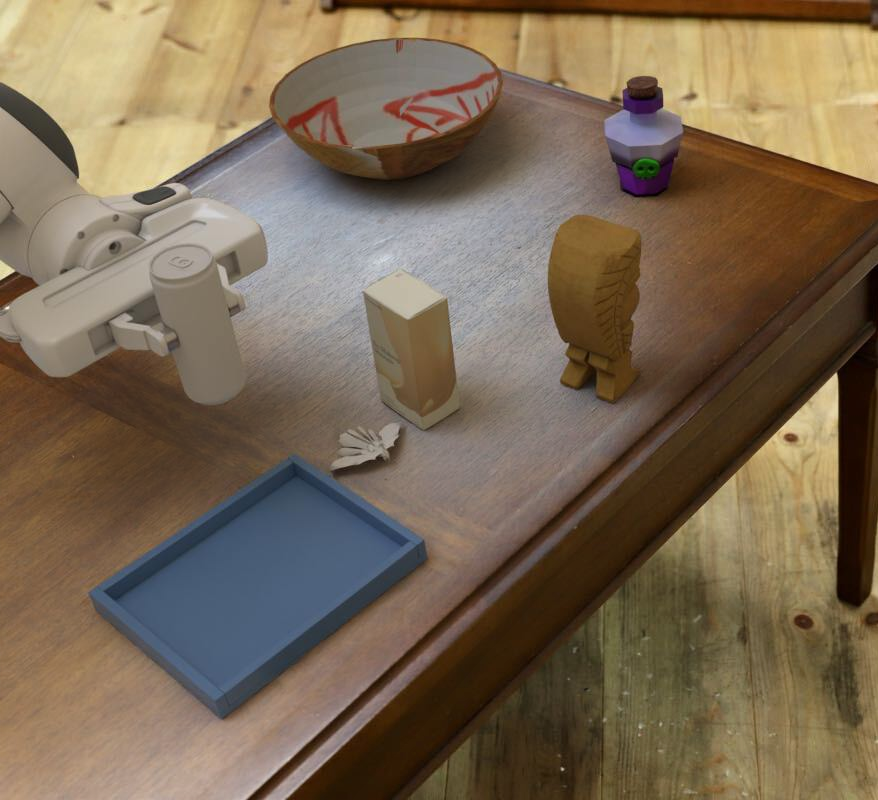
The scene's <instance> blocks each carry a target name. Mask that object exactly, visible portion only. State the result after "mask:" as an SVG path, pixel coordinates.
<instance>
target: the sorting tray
mask: <svg viewBox="0 0 878 800" xmlns="http://www.w3.org/2000/svg"><path fill="white" fill-rule="evenodd" d="M426 560H428V552H427V546H426V542H425V539H424V538H423V537H421V536H420V535H418V534H417V533H415V532H414V531H412V530H411V529H409V528H408V527H406V526H404V525H403V524H402V523H400V522H399V521H398V520H396V519H394V518H393V517H392V516H390V515H388V514H387V513H385V512H383V510H380V508H378V507H376V506H375V505H373V504H372V503H370V502H368V501H367V500H366V499H364V498H363V497H361V496H360V495H359V494H357V493H355V492H353V490H351V489H349V488H348V487H346V486H345V485H344V484H342V483H340V482H339V481H337V480H336V479H334V478H333V477H332V476H330V475H328V474H327V473H325V472H324V471H322V470H321V469H320V468H318V467H316V466H315V465H313V464H312V463H310V461H309V462H308V461H307V460H306V459H304V458H303V457H301V456H300V455H298V454H297V453H292V454H291V455H289V456H288V457H286V458H285V459H283V460H282V461H280V462H279V463H278V464H276V465H274V466H273V467H271V468H270V469H269V470H267V471H266V472H264V473H263V474H261V475H259V476H258V477H256V478H255V479H254V480H252V481H251V482H249V483H248V484H246V485H245V486H243V487H242V488H240V489H239V490H237V491H236V492H235V493H233V494H231V495H230V496H228V497H227V498H226V499H224V500H222V501H221V502H220V503H218V504H217V505H215V506H214V507H212V508H211V509H209V510H208V511H206V512H204V513H203V514H202V515H200V516H199V517H197V518H196V519H194V520H193V521H191V522H190V523H189V524H187V525H185V526H184V527H183V528H181V529H180V530H178V531H177V532H176V533H175V532H174V534H172V535H171V536H169V537H168V538H166V539H165V540H163V541H162V542H160V543H159V544H158V545H156V546H154V547H153V548H152V549H150V550H148V551H147V552H146V553H144V554H143V555H141V556H140V557H138V558H136V559H135V560H134V561H132V562H131V563H130V564H128V565H126V566H124V567H123V568H122V569H120V570H119V571H118V572H116V573H114V574H113V575H112V576H109V578H107V579H106V580H103V582H101V583H99V584H98V585H97V586H95V587H93V588H92V589H90V590H89V591H88V592H87V593H88V596H89V598H90V600H91V603H92V605H93V608H94V610H95V612H96V613H98V614H99V615H100V616H101V617H102V618H103V619H104V620H105V621H107V622H108V623H109V624H110V625H112V626H113V627H114V628H115V629H116V630H117V631H119V633H121V634H122V635H123V636H124V637H125V638H127V639H128V640H129V641H130V642H131V643H132V644H133V645H135V646H136V647H137V648H138V649H139V650H140V651H141V652H143V653H144V654H145V655H146V656H148V657H149V658H150V659H151V660H152V661H153V662H154V663H156V664H157V665H158V666H159V667H160V668H161V669H163V670H164V672H166V673H167V674H168V675H170V676H171V677H172V678H173V679H174V680H175V681H177V682H178V683H179V684H180V685H181V687H183V688H185V689H186V690H187V691H188V692H189V693H190V694H191V695H193V696H194V697H195V698H196V699H197V700H199V702H200V703H202V704H203V705H204V706H205V707H206V708H208V709H209V710H210V711H211V712H213V713H214V714H215V715H216V716H217V717H218V718H219V719H220V720H223V719H224V718H225V717H227V716H229V714H231V713H232V712H233V711H234V710H236V709H237V708H239V706H241V705H242V704H243V703H245V702H246V701H247V700H249V699H250V698H251V697H252V696H254V695H255V694H256V693H258V692H259V691H260V690H261V689H263V688H264V687H265V686H266V685H268V684H269V683H270V682H272V681H273V680H274V679H275V678H277V677H278V676H280V674H282V673H283V672H285V670H287V669H288V668H290V667H291V666H292V665H293V664H295V663H296V662H297V661H298V660H300V659H301V658H302V657H304V656H305V655H306V654H308V653H309V652H310V651H311V650H313V649H314V648H315V647H316V646H317V645H319V644H320V643H321V642H323V641H324V640H326V639H327V638H328V637H329V636H330V635H332V634H333V633H334V632H336V631H337V630H338V629H339V628H340V627H342V626H343V625H344V624H346V623H347V622H348V621H350V620H351V619H352V618H353V617H355V616H356V615H357V614H359V612H361V611H362V610H363V609H365V608H366V607H367V606H368V605H371V603H372V602H374V601H375V600H376V599H378V598H379V597H380V596H381V595H383V594H384V593H385V592H387V591H388V590H389V589H390V588H391V587H393V586H394V585H395V584H397V583H398V582H399V581H401V580H403V578H404V577H406V576H407V575H408V574H410V573H411V572H412V571H413V570H415V569H416V568H417V567H418V566H420V565H421V564H422V563H423V562H425V561H426Z"/></svg>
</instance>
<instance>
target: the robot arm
mask: <svg viewBox="0 0 878 800" xmlns="http://www.w3.org/2000/svg"><path fill="white" fill-rule="evenodd" d="M75 151H76V150H75V148H74V146H73V143H72V142H71V140H70V138H69V137H68V135H67V134H66V132H65V131H64V130H63V128H62V127H61V126H60V125H59V124H58V123H57V121H56V120H55V119H54V118H53V117H52V116H51V115H50V114H49V113H48V112H47V111H46V110H44V108H42V107H41V106H40V105H38V104H37V103H36V102H34V100H31V99H30V98H29V97H27V96H26V95H24V94H23V93H22V92H21V93H20V91H18V90H16V89H15V88H13V87H11V86H9V85H7V84H6V83H3V82H1V81H0V261H1V262H2V263H4V264H5V265H6V266H7V267H9V268H11V270H13V271H14V272H17V273H18V274H20V275H22V276H25V277H27V278H31V279H32V280H33V282H35V284H36V285H38V286H36V287H34V288H33V289H31V290H29V291H27V292H25V293H23V294H21V295H20V296H18V297H16V298H15V299H13V300H12V301H9V302H7V303H6V304H4V305H3V306H2V307H0V338H2V339H3V340H5V341H6V342H9V343H19V344H20V347H21V348H22V350H23V351H24V353H25V354H26V355H27V357H28V358H29V359H30V360H31V361H32V362H33V364H35V366H37V367H38V368H39V369H40V370H41V371H42V372H43V373H44V374H45V375H47V376H48V377H51V378H68V377H70V376H73V375H75V374H77V373H78V372H80V371H82V370H83V369H86V368H87V367H89V366H90V365H93V364H95V363H96V362H97V361H100V360H102V359H103V358H104V357H106V356H108V355H110V354H112V353H113V352H115V351H117V350H120V349H121V348H123V349H124V350H125V351H126V350H127V351H128V350H129V351H152V352H153V353H155V354H157V356H159V357H161V358H164V357H166V356H167V355H169V354H171V353H173V352H172V351H174V350H176V349H177V348H179V347H180V345H179V342H178V341H177V334H176V332H175V331H174V330H173V329H172V328H170V327H167V326H166V325H165V323H163V321H162V317H161V314H160V311H159V307H158V304H157V301H156V297H155V294H154V291H153V287H152V284H151V281H150V276H149V272H150V271H149V262H150V260H151V259H152V257H153V256H154V255H155V254H157V253H158V252H159V251H161V250H163V249H165V248H167V247H170V246H173V245H177V244H184V243H195V244H200V245H203V246H205V247H207V248H208V249H209V250H210V251H211V252H212V255H213V257H214V258H215V260H216V263H217V267H218V271H219V275H220V278H221V282H222V286H223V290H224V294H225V298H226V302H227V305H228V309H229V313H230V317H231V318H233V317H234V316H236V315H237V314H239V313H241V312H243V311H245V310H246V303H245V302H246V301H245V298H244V296H243V294H242V292H241V291H240V290H239V289H238V288H236V287H234V286H233V284H236V283H237V282H239V281H240V280H242V279H244V278H246V277H248V276H249V275H252V274H253V273H255V272H257V271H259V270H260V269H262V268H264V267H266V266H267V264H268V261H269V251H268V244H267V239H266V234H265V232H264V230H263V227H262V225H261V224H260V223H259V221H257V220H256V219H255V218H254V217H252V216H250V215H248V214H246V213H245V212H242V211H240V210H239V209H237V208H235V207H233V206H230V205H228V204H226V203H223V202H221V201H219V200H216V199H212V198H206V197H194V198H193V195H192V193H191V191H190V189H189V188H188V186H186V185H184V184H182V183H179V182H173V183H167V184H164V185H160V186H157V187H154V188H149V189H146V190H142V191H137V192H132V193H126V194H125V193H124V194H117V195H108V196H104V197H102V196H99V195H95V194H90V193H89V191H88V190H87V189H86V188H85V187H84V186H83V185H81V184H80V183H79V182H78V180H79V179H80V169H79V164H78V160H77V156H76V152H75Z"/></svg>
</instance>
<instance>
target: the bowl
mask: <svg viewBox="0 0 878 800" xmlns="http://www.w3.org/2000/svg"><path fill="white" fill-rule="evenodd" d="M503 81H504V79H503V74H502V72H501V70H500V69H499V67H498V65H497V64H496V62H494V61H493V60H492V59H491V58H490V57H488V56H487V54H484V53H483V52H481V51H478V50H476V49H475V48H473V47H470V46H467V45H464V44H461V43H459V42H454V41H450V40H444V39H438V38H427V37H390V38H389V37H388V38H380V39H378V38H377V39H371V40H365V41H361V42H355V43H351V44H348V45H344V46H341V47H338V48H337V47H336V48H333V49H330V50H328V51H325V52H323V53H320V54H318V55H317V54H316V55H315V56H313V57H311V58H309V59H307V60H305V61H303V62H301V63H299V64H298V65H297V66H295V67H294V68H292V69H291V70H290V71H288V72H287V73H285V74H284V76H283V77H281V79H280V80H278V82H277V83H276V84H275V86H274V88H273V89H272V92H271V93H270V95H269V102H268V103H269V104H268V109H269V110H270V115H271V117H272V119H273V120H274V121H275V123H276V124H277V125H278V126H279V128H280V129H281V130H282V131H283V132H284V134H285V135H286V136H287V137H288V138H289V139H290V141H292V142H293V143H294V144H295V146H297V148H299V149H300V150H302V151H303V152H304V153H306V154H307V155H308V156H310V157H311V158H313V159H314V160H316V161H317V162H319V163H321V164H323V165H325V166H327V167H328V168H331V169H333V170H335V171H337V172H340V173H343V174H347V175H351V176H356V177H362V178H366V179H372V180H373V179H375V180H381V181H383V180H402V179H408V178H413V177H415V176H418V175H422V174H425V173H426V172H429V171H430V170H432V169H435V168H437V167H439V166H442V165H443V164H446V163H447V162H449V161H450V160H452V159H453V158H455V157H457V156H458V155H459V154H461V153H462V152H463V151H464V150H465V149H466V148H467V147H469V145H471V143H472V142H473V141H474V140H475V139H476V138H477V137H478V136H479V134H480V133H481V131H482V130H483V129H484V128H485V126H486V124H487V122H488V121H489V120H490V118H491V116H492V115H493V113H494V110H495V108H496V106H497V103H498V102H499V100H500V96H501V92H502V89H503V85H504V82H503Z"/></svg>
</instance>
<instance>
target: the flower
mask: <svg viewBox="0 0 878 800" xmlns="http://www.w3.org/2000/svg"><path fill="white" fill-rule="evenodd" d="M402 422H403V420H399V421H395V422H391V423H389V424H387V425H385V426H384V427H383V428H382V429H381V430H380V431H379V432H378V434H379V435H378V436H379V437H381V440H379V438H378V437H377V435H376V433H375V432H374V430H373V429H368V430H367V431H368V433H369V435H370V436H371V437H372V438H371V437H370V436H369V435H368V433H367V432H366V430H365V429H364V428H363V427H361V426H359V425H358V426H357V429H358V430H359V431H360V432H361V433H362V434H363V435H365V436H366V437H367V438H368V439H369V440H368V439H367V438H366V437H363V436H362V435H361V434H360V433H359V432H357V431H355V430H353V429H347V431H344V430H343V429H342V428H340V427H339V426H336V425H332V426H331V428H332V429H333V430H334V431H335V432H336V433H337V434H339V439H338V440H337V441H338V442H339V444H340V445H341V446H343V447H342V448H339V450H338V451H337V454H338V455H339V456H341V457H340V458H338V459H336V460H334V461H333V462H332V463H331V465H330V466H329V471H334V470H337V469H342V468H345V467H349V466H358V465H360V464H362V463H364V462H366V461H371V460H373V461H375V460H376V459H377V458H378V457H381V458H383V460H388V461H387V462H388V463H391V461H390V459H391V456H390V452H389V451H388V449H389V448H391V447H395V444H394V443H395V441H396V440H397V439H398V438H399V437H400V436H401V434H399V431H400V427H401V425H402Z"/></svg>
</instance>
